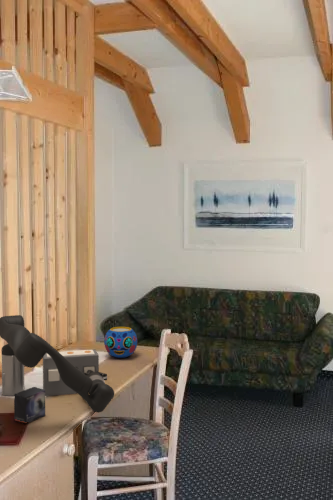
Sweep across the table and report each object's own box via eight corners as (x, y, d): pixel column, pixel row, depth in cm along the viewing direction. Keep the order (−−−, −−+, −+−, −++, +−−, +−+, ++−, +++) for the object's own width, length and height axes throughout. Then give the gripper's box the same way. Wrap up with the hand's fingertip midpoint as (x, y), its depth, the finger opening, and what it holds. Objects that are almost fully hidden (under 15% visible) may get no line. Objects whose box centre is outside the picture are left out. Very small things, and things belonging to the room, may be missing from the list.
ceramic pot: (101, 361, 292) (101, 332, 291) (106, 352, 310) (106, 325, 309) (135, 361, 292) (135, 332, 290) (138, 352, 309) (138, 325, 308)
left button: (48, 381, 237) (48, 371, 236) (48, 379, 240) (48, 369, 239) (59, 380, 238) (59, 370, 237) (58, 378, 241) (58, 368, 240)
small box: (26, 425, 208) (25, 397, 207) (13, 421, 211) (12, 393, 210) (46, 416, 217) (46, 389, 216) (34, 412, 220) (33, 386, 219)
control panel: (44, 396, 239) (43, 357, 237) (43, 388, 248) (42, 351, 247) (98, 391, 245) (98, 353, 243) (95, 384, 254) (95, 348, 253)
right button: (84, 377, 243) (84, 367, 242) (83, 375, 245) (83, 365, 245) (94, 376, 244) (94, 366, 243) (93, 374, 247) (93, 364, 246)
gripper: (78, 394, 225) (74, 381, 242) (111, 392, 228) (105, 379, 245) (78, 376, 224) (73, 364, 241) (111, 373, 228) (104, 362, 244)
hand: (89, 372), depth 243 cm, fingers closed
